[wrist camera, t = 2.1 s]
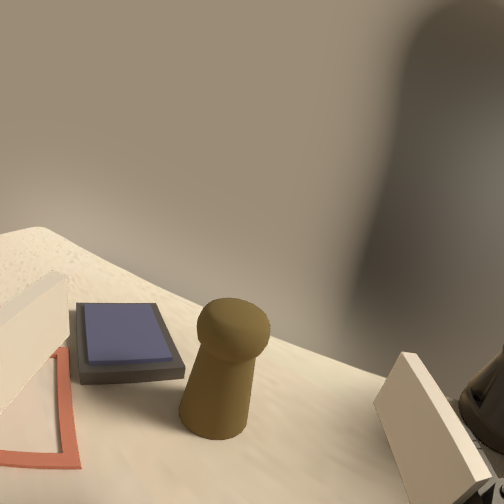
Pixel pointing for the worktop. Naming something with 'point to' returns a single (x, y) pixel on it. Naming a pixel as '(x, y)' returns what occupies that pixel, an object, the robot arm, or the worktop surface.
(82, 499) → the worktop surface
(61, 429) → the marked square
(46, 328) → the robot arm
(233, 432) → the cork
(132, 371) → the ink pad
